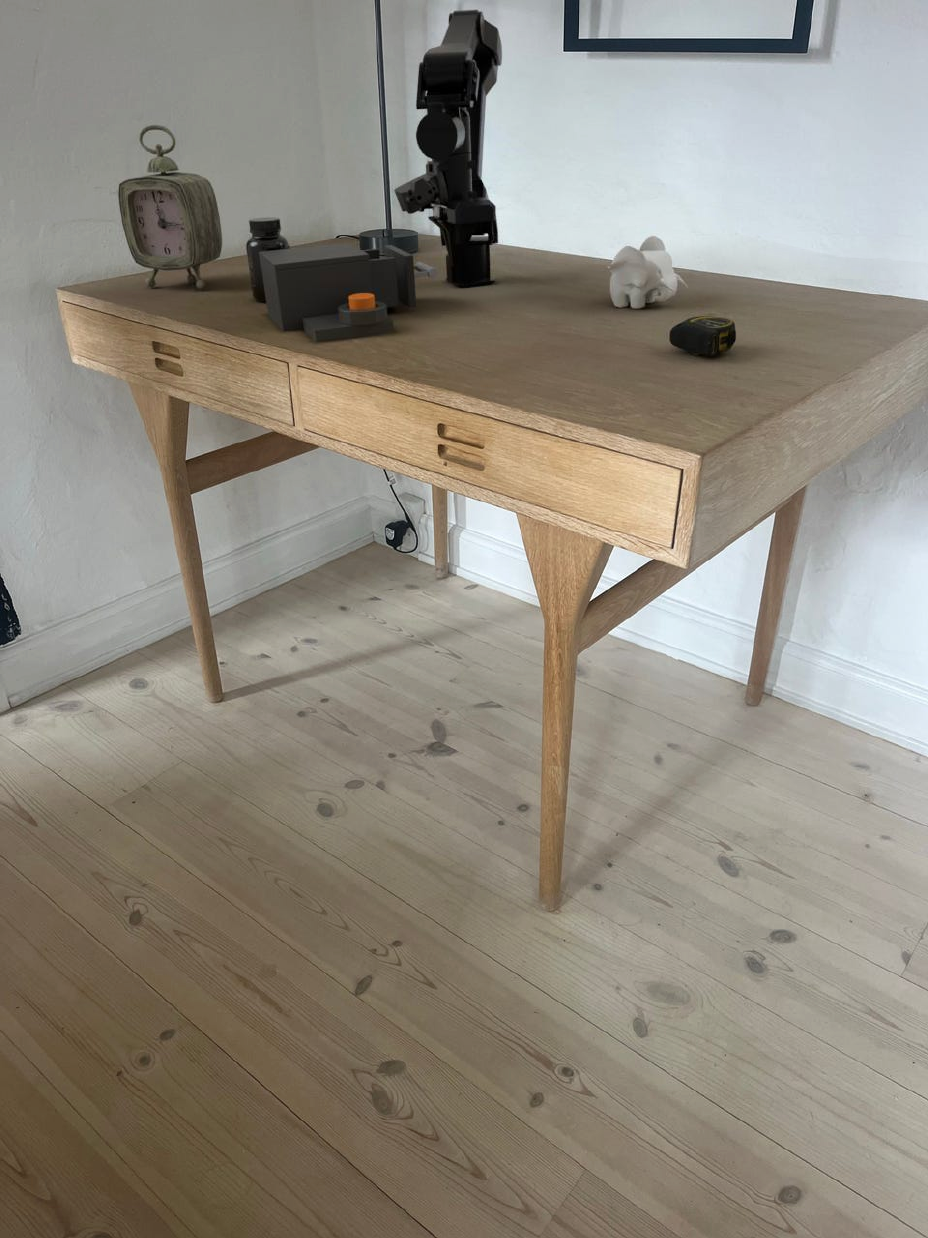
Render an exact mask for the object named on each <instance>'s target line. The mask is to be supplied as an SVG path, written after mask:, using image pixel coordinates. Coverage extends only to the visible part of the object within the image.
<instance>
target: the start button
mask: <svg viewBox="0 0 928 1238" xmlns="http://www.w3.org/2000/svg"><path fill="white" fill-rule="evenodd" d="M348 299H349V309H352V310H365V309H372V308H375V296H374V294H370V293H358V294H353V295H350V296H349V297H348Z"/></svg>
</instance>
